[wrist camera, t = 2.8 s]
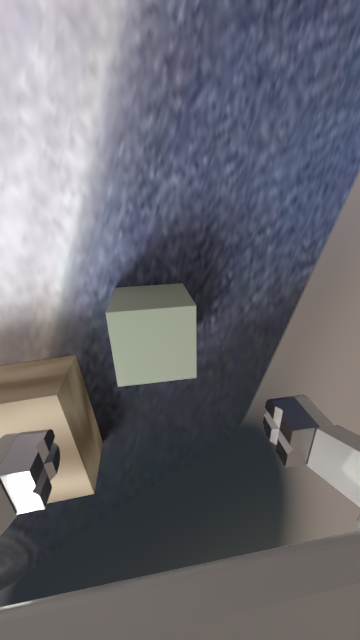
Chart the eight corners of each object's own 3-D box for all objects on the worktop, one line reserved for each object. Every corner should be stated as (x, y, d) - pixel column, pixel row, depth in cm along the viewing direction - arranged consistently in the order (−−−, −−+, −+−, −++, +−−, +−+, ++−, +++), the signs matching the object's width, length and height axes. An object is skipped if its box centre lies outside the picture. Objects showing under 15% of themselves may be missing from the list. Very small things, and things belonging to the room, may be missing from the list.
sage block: (114, 287, 17) (105, 312, 13) (182, 282, 18) (196, 305, 14) (123, 346, 19) (117, 386, 15) (184, 340, 20) (196, 377, 16)
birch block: (-59, 372, 18) (-124, 424, 14) (76, 352, 19) (56, 395, 15) (-6, 459, 22) (-43, 521, 18) (103, 439, 23) (94, 493, 19)
